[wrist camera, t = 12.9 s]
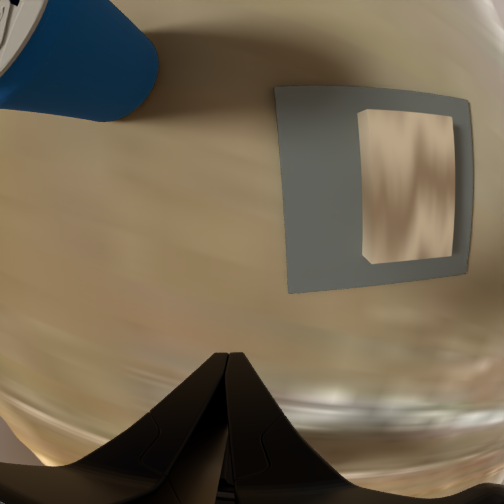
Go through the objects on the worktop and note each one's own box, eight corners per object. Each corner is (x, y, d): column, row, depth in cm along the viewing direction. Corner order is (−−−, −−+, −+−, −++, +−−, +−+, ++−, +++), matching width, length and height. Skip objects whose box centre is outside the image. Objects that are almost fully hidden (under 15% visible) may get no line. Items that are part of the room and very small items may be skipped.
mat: (463, 272, 20) (465, 273, 20) (288, 291, 21) (288, 293, 20) (464, 100, 16) (467, 100, 16) (274, 88, 17) (274, 86, 17)
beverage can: (163, 26, 16) (78, -76, 4) (162, 115, 18) (43, 72, 6) (79, 46, 16) (-37, -6, 4) (75, 130, 18) (-63, 127, 6)
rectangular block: (362, 255, 19) (438, 248, 19) (371, 263, 18) (451, 256, 17) (357, 113, 17) (437, 118, 17) (366, 109, 15) (452, 116, 15)
